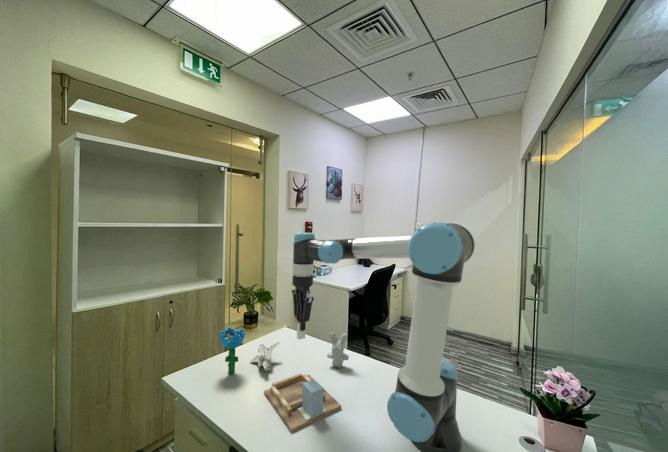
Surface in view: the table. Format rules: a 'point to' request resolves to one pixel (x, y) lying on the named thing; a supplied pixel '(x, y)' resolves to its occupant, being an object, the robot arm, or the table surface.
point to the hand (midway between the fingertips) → (300, 338)
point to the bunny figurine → (338, 350)
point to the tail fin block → (312, 397)
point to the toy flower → (231, 345)
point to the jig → (296, 402)
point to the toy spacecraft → (264, 356)
